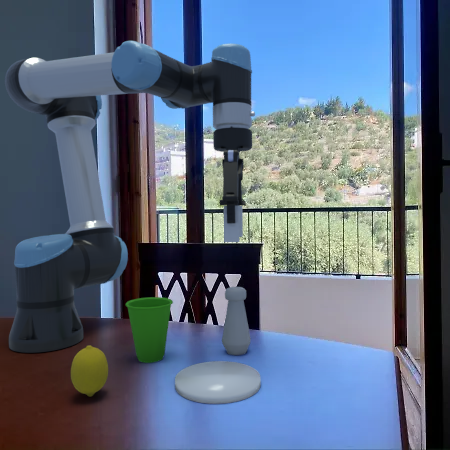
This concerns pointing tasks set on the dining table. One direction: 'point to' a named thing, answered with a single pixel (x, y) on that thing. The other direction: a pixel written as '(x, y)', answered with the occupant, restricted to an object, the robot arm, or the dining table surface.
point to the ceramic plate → (217, 382)
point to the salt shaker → (236, 322)
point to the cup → (149, 326)
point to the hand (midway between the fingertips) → (234, 239)
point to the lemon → (89, 370)
